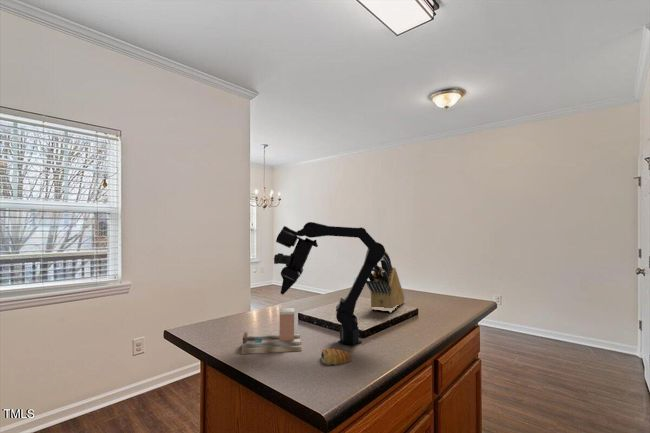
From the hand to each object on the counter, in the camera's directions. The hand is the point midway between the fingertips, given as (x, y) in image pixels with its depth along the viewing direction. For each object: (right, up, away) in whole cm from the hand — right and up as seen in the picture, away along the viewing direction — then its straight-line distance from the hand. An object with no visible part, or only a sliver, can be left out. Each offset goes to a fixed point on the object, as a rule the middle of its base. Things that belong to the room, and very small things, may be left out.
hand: (283, 291), depth 119 cm
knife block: (+47, -20, +47) cm, 70 cm away
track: (-3, -18, -6) cm, 19 cm away
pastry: (+18, -19, -17) cm, 31 cm away
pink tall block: (+2, -16, -5) cm, 17 cm away
